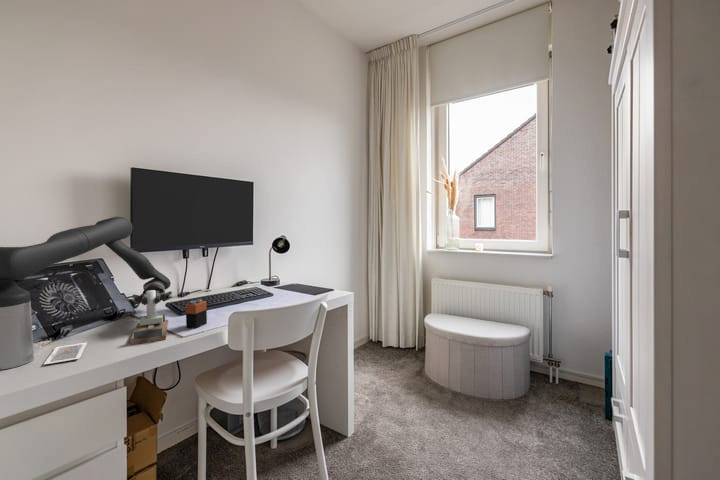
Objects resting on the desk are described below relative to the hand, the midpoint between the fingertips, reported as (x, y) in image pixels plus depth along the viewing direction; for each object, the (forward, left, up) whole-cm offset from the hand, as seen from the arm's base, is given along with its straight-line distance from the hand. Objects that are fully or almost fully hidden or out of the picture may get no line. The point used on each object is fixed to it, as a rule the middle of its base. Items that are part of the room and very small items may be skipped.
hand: (150, 301), depth 123 cm
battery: (+15, 0, -11) cm, 19 cm away
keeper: (0, +3, -9) cm, 9 cm away
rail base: (0, -2, -11) cm, 11 cm away
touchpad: (-21, -13, -12) cm, 27 cm away
